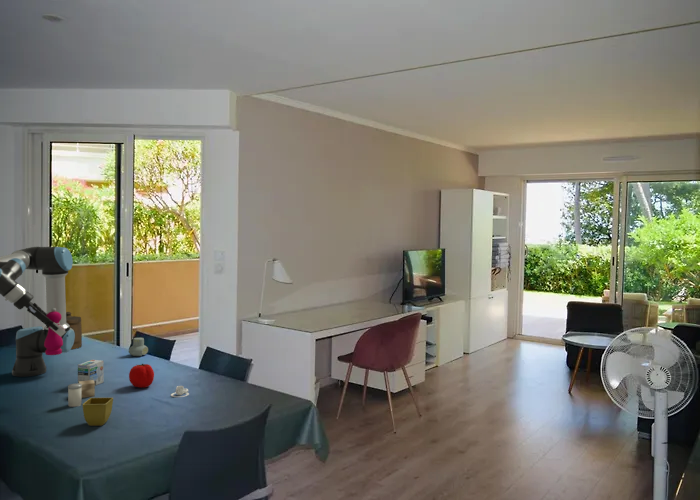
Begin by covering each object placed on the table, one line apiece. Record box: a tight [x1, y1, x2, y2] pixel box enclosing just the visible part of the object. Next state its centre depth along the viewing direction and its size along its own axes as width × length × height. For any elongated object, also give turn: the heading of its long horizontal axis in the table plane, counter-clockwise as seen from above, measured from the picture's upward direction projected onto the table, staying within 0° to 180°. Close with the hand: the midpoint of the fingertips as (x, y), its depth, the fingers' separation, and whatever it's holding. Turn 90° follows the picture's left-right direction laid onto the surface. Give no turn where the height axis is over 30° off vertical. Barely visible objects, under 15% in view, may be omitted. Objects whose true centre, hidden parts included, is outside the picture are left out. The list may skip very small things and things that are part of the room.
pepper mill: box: [44, 308, 63, 356], centre depth 242 cm, size 7×7×20 cm
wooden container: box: [66, 311, 83, 350], centre depth 344 cm, size 15×15×22 cm
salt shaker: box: [67, 382, 82, 408], centre depth 236 cm, size 5×5×8 cm
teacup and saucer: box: [170, 385, 190, 398], centre depth 254 cm, size 9×8×4 cm
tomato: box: [128, 363, 155, 389], centre depth 265 cm, size 12×12×11 cm
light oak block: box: [79, 380, 96, 399], centre depth 250 cm, size 6×6×6 cm
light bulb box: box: [77, 359, 105, 387], centre depth 266 cm, size 11×7×11 cm, turn 168°
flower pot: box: [81, 397, 114, 427], centre depth 215 cm, size 9×9×9 cm
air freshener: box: [128, 337, 149, 357], centre depth 327 cm, size 11×8×10 cm
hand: (63, 333), depth 244 cm, fingers closed on pepper mill, 5 cm apart
